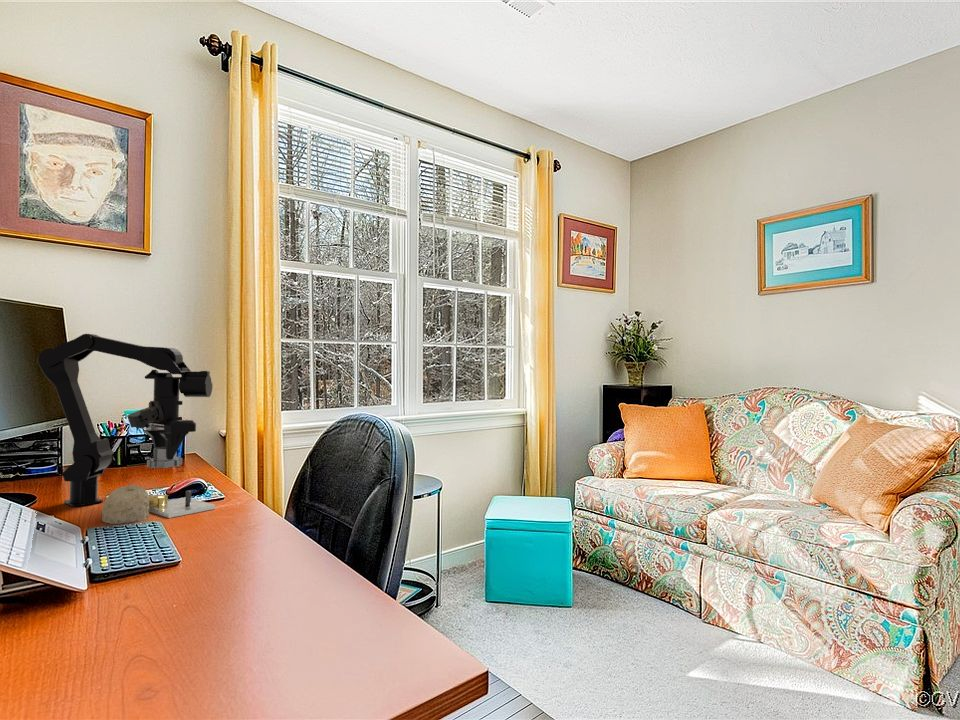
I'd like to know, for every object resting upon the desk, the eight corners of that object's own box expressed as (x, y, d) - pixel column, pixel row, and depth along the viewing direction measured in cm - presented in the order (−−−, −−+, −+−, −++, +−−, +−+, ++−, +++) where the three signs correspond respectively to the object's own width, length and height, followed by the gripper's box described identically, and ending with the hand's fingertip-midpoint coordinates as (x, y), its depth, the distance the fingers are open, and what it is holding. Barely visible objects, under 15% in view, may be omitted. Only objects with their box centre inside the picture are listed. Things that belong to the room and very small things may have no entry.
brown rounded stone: (149, 536, 130) (166, 494, 136) (125, 520, 122) (144, 477, 128) (111, 533, 131) (130, 492, 137) (84, 518, 123) (106, 475, 129)
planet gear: (142, 465, 144) (142, 447, 145) (172, 462, 151) (172, 445, 151) (156, 469, 140) (157, 450, 140) (187, 465, 146) (187, 447, 146)
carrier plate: (138, 509, 137) (138, 490, 137) (186, 500, 146) (187, 483, 146) (165, 518, 129) (166, 498, 129) (214, 508, 139) (215, 490, 139)
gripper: (115, 396, 144) (113, 458, 144) (151, 399, 134) (149, 466, 133) (160, 395, 154) (159, 453, 153) (197, 398, 143) (196, 460, 143)
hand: (164, 458), depth 145 cm, fingers closed on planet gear, 5 cm apart
